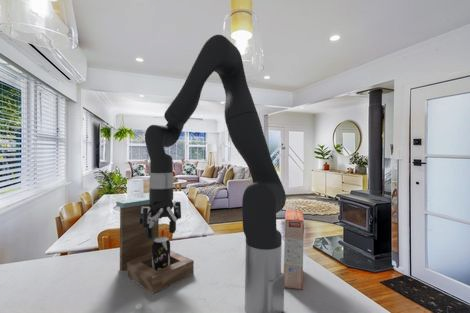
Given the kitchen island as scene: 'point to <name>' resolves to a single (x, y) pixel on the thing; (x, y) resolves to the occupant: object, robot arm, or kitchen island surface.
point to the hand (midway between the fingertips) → (161, 235)
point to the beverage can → (160, 253)
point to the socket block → (159, 272)
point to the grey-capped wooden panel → (134, 231)
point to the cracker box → (293, 249)
